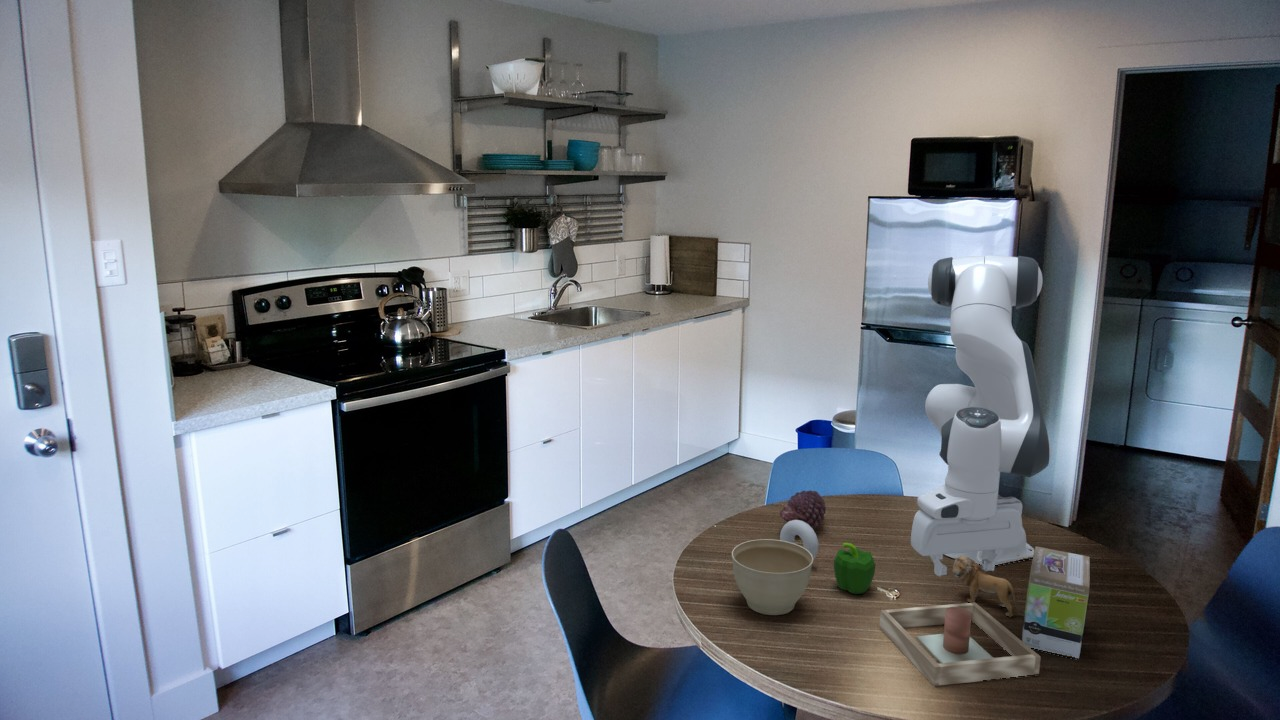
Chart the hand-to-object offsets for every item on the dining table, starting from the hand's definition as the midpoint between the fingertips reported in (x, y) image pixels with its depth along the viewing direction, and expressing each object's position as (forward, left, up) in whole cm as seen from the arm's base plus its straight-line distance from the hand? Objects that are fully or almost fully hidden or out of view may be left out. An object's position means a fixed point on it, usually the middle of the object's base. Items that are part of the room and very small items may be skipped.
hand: (964, 572), depth 151 cm
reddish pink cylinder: (0, 0, -15) cm, 15 cm away
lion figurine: (-15, -15, -16) cm, 26 cm away
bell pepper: (+8, -26, -16) cm, 31 cm away
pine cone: (+6, -58, -15) cm, 60 cm away
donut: (+15, -40, -16) cm, 45 cm away
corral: (0, 0, -15) cm, 15 cm away
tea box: (-21, -2, -16) cm, 26 cm away
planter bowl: (+28, -22, -16) cm, 39 cm away
